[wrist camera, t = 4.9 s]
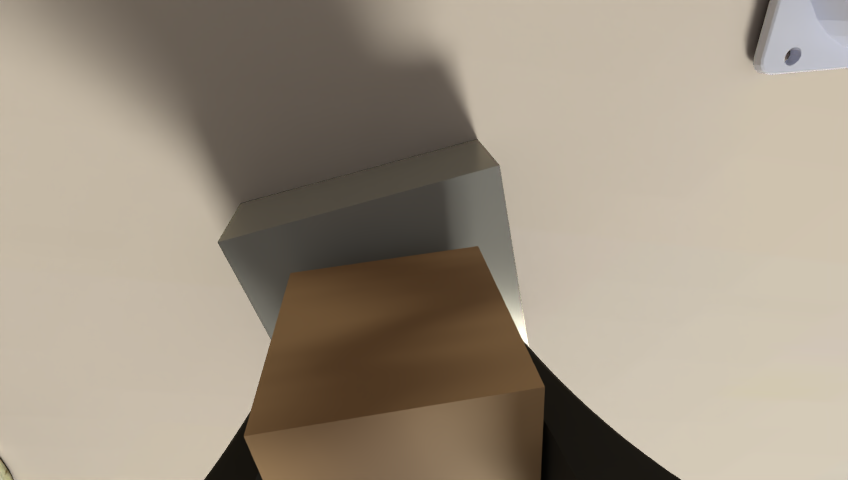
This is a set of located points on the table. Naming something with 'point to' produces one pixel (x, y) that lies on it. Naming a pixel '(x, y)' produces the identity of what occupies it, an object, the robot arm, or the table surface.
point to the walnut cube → (397, 377)
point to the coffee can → (4, 472)
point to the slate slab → (375, 224)
